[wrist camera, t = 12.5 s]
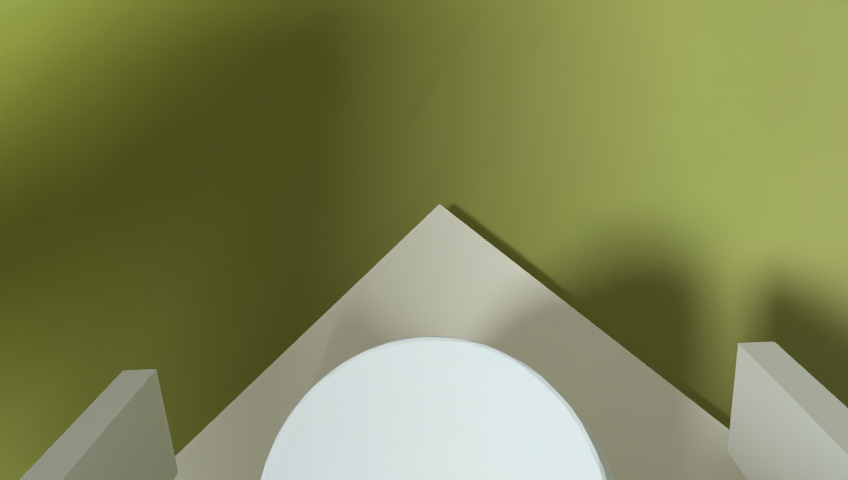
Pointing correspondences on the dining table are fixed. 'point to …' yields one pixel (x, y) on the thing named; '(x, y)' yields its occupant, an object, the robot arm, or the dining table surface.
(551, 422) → the pill bottle
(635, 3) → the dining table surface
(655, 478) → the cream tile
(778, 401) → the robot arm
